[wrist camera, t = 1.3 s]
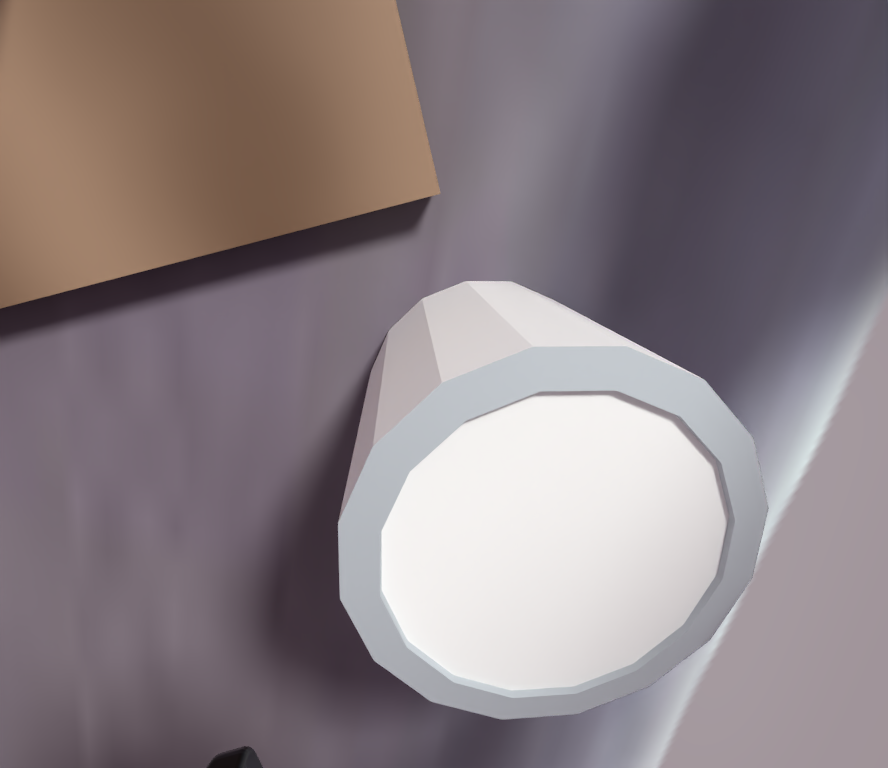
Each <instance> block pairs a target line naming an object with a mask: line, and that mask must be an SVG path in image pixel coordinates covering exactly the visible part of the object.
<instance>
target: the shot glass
mask: <svg viewBox="0 0 888 768" xmlns="http://www.w3.org/2000/svg"><path fill="white" fill-rule="evenodd" d="M767 512H768V503H767V499H766V494H765V489H764V485H763V480H762V475H761V471H760V466H759V461H758V457H757V452H756V447H755V443H754V438H753V437H752V436H751V434H750V433H749V432H748V431H747V430H746V428H745V427H744V426H743V425H742V424H741V422H740V421H739V420H738V419H737V418H736V416H735V415H734V414H733V413H732V412H731V411H730V409H729V408H728V407H727V406H726V405H725V403H724V402H723V401H722V400H721V399H720V397H719V396H718V395H717V394H716V393H715V391H714V390H713V389H712V388H711V387H710V386H709V384H708V383H707V382H706V381H705V380H704V379H702V378H700V377H699V376H697V375H695V374H693V373H691V372H689V371H687V370H685V369H683V368H681V367H680V366H678V365H676V364H674V363H672V362H670V361H668V360H666V359H664V358H663V357H661V356H659V355H657V354H655V353H653V352H651V351H649V350H647V349H646V348H644V347H642V346H640V345H638V344H636V343H634V342H632V341H630V340H628V339H627V338H625V337H623V336H621V335H619V334H617V333H615V332H613V331H611V330H610V329H608V328H606V327H604V326H602V325H600V324H598V323H596V322H594V321H593V320H591V319H589V318H587V317H585V316H583V315H581V314H579V313H577V312H575V311H574V310H572V309H570V308H568V307H566V306H564V305H562V304H560V303H558V302H557V301H555V300H553V299H551V298H548V297H546V296H544V295H541V294H539V293H537V292H535V291H532V290H530V289H528V288H525V287H523V286H521V285H519V284H516V283H514V282H510V281H465V282H462V283H460V284H457V285H455V286H452V287H450V288H447V289H445V290H442V291H440V292H437V293H435V294H432V295H430V296H427V297H425V298H422V299H421V300H420V301H419V302H418V303H417V304H416V305H415V306H414V307H413V308H412V309H411V310H410V311H409V312H408V313H406V314H405V315H404V316H403V317H402V318H401V319H400V320H399V321H398V322H397V323H396V324H395V325H394V326H393V327H392V328H391V329H390V330H389V331H388V333H387V335H386V338H385V340H384V342H383V345H382V347H381V349H380V352H379V354H378V356H377V358H376V361H375V363H374V365H373V368H372V370H371V373H370V378H369V383H368V387H367V392H366V396H365V401H364V406H363V410H362V415H361V419H360V424H359V429H358V433H357V438H356V442H355V447H354V452H353V456H352V461H351V466H350V470H349V475H348V479H347V484H346V489H345V493H344V498H343V502H342V507H341V512H340V516H339V521H338V546H339V584H340V600H341V602H342V604H343V605H344V607H345V609H346V611H347V613H348V614H349V616H350V618H351V620H352V622H353V624H354V625H355V627H356V629H357V631H358V633H359V634H360V636H361V638H362V640H363V642H364V644H365V645H366V647H367V649H368V651H369V653H370V654H371V656H372V658H373V660H374V661H375V662H377V663H378V664H379V665H381V666H382V667H383V668H385V669H386V670H388V671H389V672H390V673H392V674H393V675H395V676H396V677H397V678H399V679H400V680H402V681H403V682H404V683H406V684H407V685H408V686H410V687H411V688H413V689H414V690H415V691H417V692H418V693H420V694H421V695H422V696H424V697H425V698H426V699H428V700H429V701H431V702H434V703H438V704H442V705H446V706H450V707H454V708H458V709H462V710H465V711H469V712H473V713H477V714H481V715H485V716H489V717H493V718H497V719H501V720H504V719H518V718H532V717H545V716H559V715H573V714H579V713H582V712H584V711H587V710H589V709H592V708H595V707H597V706H600V705H603V704H605V703H608V702H610V701H613V700H616V699H618V698H621V697H623V696H626V695H629V694H631V693H634V692H637V691H639V690H642V689H644V688H647V687H649V686H651V685H652V684H653V683H655V682H656V681H657V680H658V679H660V678H661V677H662V676H664V675H665V674H666V673H668V672H669V671H670V670H672V669H673V668H674V667H675V666H677V665H678V664H679V663H681V662H682V661H683V660H685V659H686V658H687V657H688V656H690V655H691V654H692V653H694V652H695V651H696V650H698V649H699V648H700V647H702V646H703V645H704V644H705V643H707V642H708V641H709V640H710V639H711V638H712V636H713V635H714V633H715V632H716V630H717V629H718V627H719V626H720V625H721V623H722V622H723V620H724V619H725V617H726V616H727V614H728V613H729V611H730V610H731V608H732V607H733V606H734V604H735V603H736V601H737V600H738V598H739V597H740V595H741V594H742V592H743V591H744V589H745V588H746V587H747V585H748V584H749V582H750V581H751V579H752V577H753V572H754V568H755V564H756V559H757V555H758V551H759V547H760V542H761V538H762V534H763V530H764V525H765V521H766V517H767Z"/></svg>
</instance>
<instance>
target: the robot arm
mask: <svg viewBox="0 0 888 768" xmlns="http://www.w3.org/2000/svg"><path fill="white" fill-rule="evenodd" d="M207 768H263V767H262V765H261V763H260V761H259V759H258V757H257V754H256V753H255V751H254V750H253V749H252V748H251V747H249V746H248V747H246V746H244V747H241V748H237V749H233V750H230V751H226V752H223V753H220V754H218V755H216V756H215V757H214V758H213V759H212V760H211V762H210V763H209V765H208V766H207Z"/></svg>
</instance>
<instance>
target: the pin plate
mask: <svg viewBox="0 0 888 768" xmlns="http://www.w3.org/2000/svg"><path fill="white" fill-rule="evenodd" d="M437 194H440V190H439V185H438V181H437V177H436V172H435V168H434V164H433V159H432V155H431V151H430V147H429V142H428V138H427V134H426V129H425V125H424V121H423V116H422V112H421V108H420V103H419V99H418V95H417V91H416V86H415V82H414V78H413V73H412V69H411V65H410V60H409V56H408V52H407V48H406V43H405V39H404V35H403V30H402V26H401V22H400V17H399V13H398V9H397V5H396V0H0V308H4V307H8V306H12V305H16V304H19V303H23V302H27V301H31V300H35V299H39V298H42V297H46V296H50V295H54V294H58V293H62V292H65V291H69V290H73V289H77V288H81V287H85V286H89V285H92V284H96V283H100V282H104V281H108V280H112V279H115V278H119V277H123V276H127V275H131V274H135V273H138V272H142V271H146V270H150V269H154V268H158V267H161V266H165V265H169V264H173V263H177V262H181V261H184V260H188V259H192V258H196V257H200V256H204V255H207V254H211V253H215V252H219V251H223V250H227V249H230V248H234V247H238V246H242V245H246V244H250V243H253V242H257V241H261V240H265V239H269V238H273V237H276V236H280V235H284V234H288V233H292V232H296V231H299V230H303V229H307V228H311V227H315V226H319V225H322V224H326V223H330V222H334V221H338V220H342V219H345V218H349V217H353V216H357V215H361V214H365V213H368V212H372V211H376V210H380V209H384V208H388V207H391V206H395V205H399V204H403V203H407V202H411V201H414V200H418V199H422V198H426V197H430V196H434V195H437Z"/></svg>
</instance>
